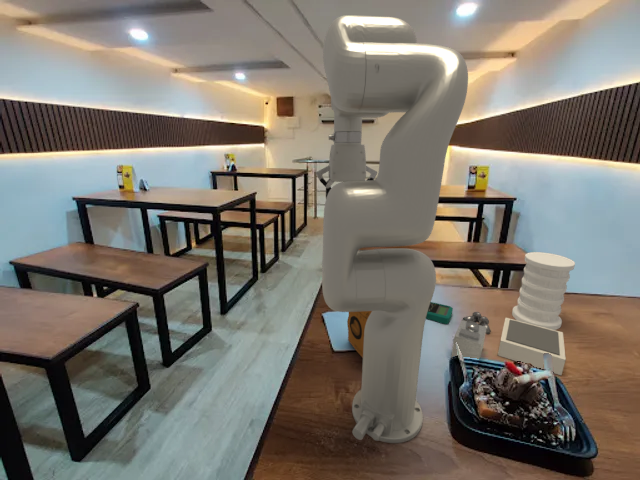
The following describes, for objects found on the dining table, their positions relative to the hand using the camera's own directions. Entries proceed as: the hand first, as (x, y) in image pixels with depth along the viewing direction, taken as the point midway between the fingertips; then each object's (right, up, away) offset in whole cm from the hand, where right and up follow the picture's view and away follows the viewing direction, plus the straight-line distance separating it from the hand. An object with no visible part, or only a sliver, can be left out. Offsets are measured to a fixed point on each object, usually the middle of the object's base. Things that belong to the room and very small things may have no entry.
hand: (346, 201), depth 91 cm
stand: (+42, -38, -16) cm, 59 cm away
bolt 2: (+36, -35, -8) cm, 51 cm away
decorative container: (+53, -34, -3) cm, 63 cm away
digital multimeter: (+23, -33, +1) cm, 40 cm away
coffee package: (+5, -38, -16) cm, 42 cm away
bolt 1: (+34, -34, -4) cm, 48 cm away
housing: (+27, -38, -17) cm, 50 cm away
